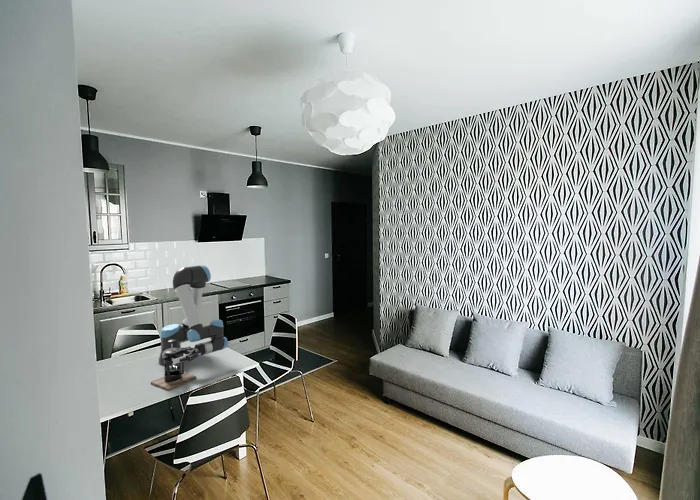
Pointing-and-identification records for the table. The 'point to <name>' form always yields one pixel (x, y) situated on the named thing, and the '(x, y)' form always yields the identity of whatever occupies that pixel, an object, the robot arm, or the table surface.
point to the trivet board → (170, 385)
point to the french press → (172, 369)
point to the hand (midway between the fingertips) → (167, 358)
